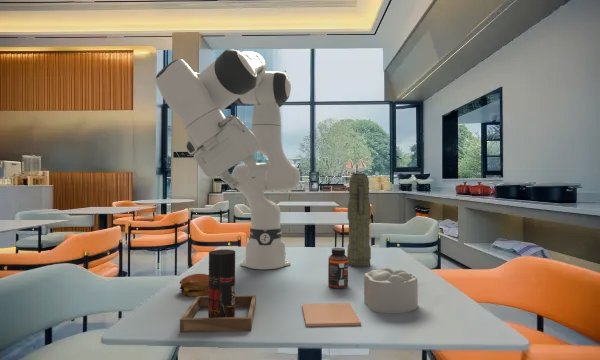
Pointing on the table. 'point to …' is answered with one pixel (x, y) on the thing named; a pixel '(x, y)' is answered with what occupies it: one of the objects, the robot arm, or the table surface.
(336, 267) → the supplement bottle
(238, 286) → the table surface
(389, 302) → the lumpy-topped squat cylinder
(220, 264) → the deodorant
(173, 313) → the table surface
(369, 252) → the olive green pillar
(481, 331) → the table surface
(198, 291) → the burger
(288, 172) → the robot arm
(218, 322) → the corral
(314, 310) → the coaster
